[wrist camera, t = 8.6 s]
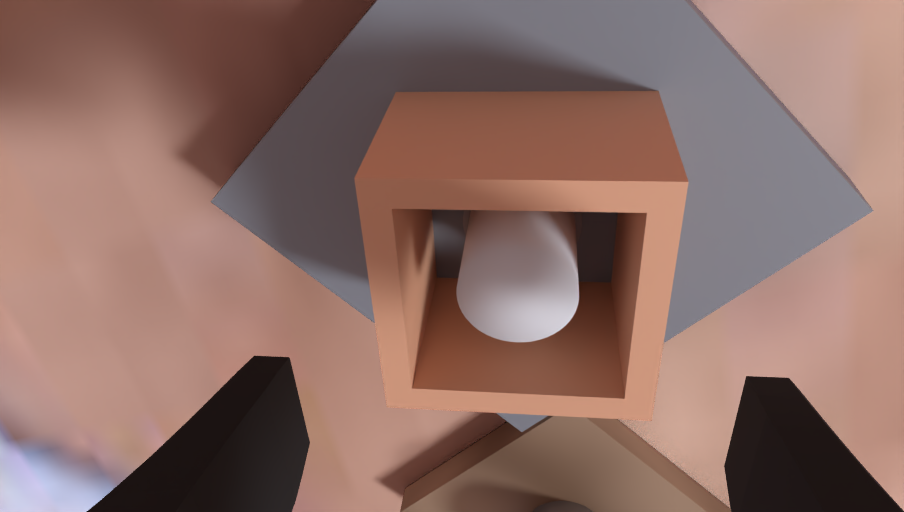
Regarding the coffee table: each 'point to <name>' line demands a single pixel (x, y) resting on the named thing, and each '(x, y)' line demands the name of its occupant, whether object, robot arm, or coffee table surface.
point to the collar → (522, 189)
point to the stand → (560, 473)
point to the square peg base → (547, 232)
